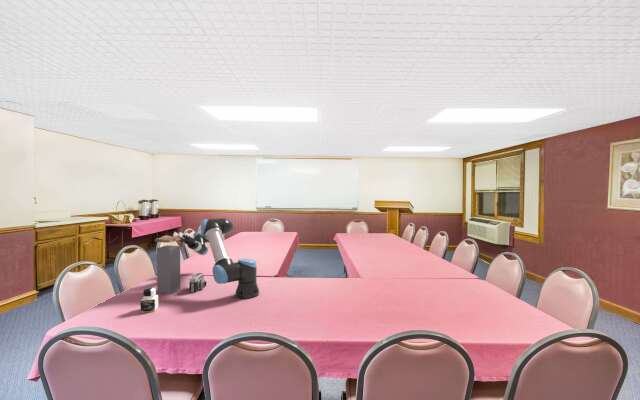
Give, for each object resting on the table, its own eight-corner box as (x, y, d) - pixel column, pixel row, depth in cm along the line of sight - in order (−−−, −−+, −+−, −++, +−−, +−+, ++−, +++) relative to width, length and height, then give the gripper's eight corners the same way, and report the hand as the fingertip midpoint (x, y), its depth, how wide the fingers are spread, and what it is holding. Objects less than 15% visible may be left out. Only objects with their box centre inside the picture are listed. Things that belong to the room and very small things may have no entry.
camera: (201, 293, 191) (201, 278, 191) (188, 293, 191) (188, 278, 191) (209, 286, 205) (209, 272, 205) (197, 286, 205) (197, 272, 205)
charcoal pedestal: (167, 287, 201) (167, 245, 200) (180, 288, 199) (180, 245, 198) (157, 292, 191) (156, 248, 190) (170, 293, 189) (170, 248, 188)
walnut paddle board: (176, 237, 210) (176, 234, 210) (189, 237, 208) (189, 235, 208) (154, 242, 189) (154, 239, 189) (169, 242, 187) (169, 239, 187)
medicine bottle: (140, 312, 159) (140, 291, 158) (144, 307, 165) (144, 287, 165) (154, 311, 160) (154, 290, 160) (158, 306, 167) (158, 286, 167)
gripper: (202, 250, 219) (185, 239, 199) (183, 249, 222) (164, 238, 202) (205, 240, 223) (188, 229, 203) (186, 240, 226) (168, 228, 206)
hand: (176, 233), depth 202 cm, fingers closed on walnut paddle board, 3 cm apart
